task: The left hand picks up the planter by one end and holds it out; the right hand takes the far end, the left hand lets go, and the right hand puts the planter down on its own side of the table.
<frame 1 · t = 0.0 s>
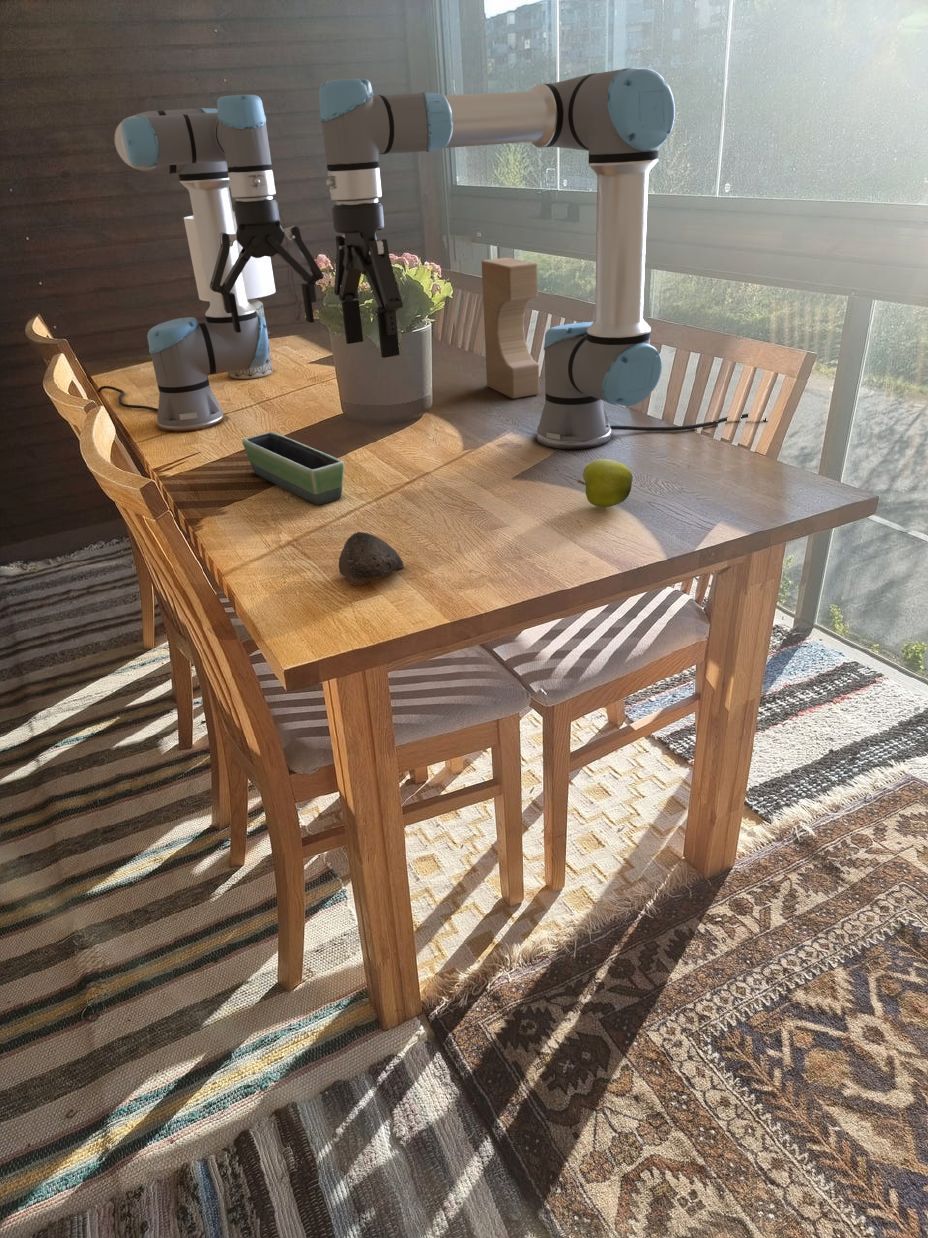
left hand: (274, 326, 162), 28 cm above the table, tool pointing down, fingers open, 13 cm apart
right hand: (372, 349, 140), 28 cm above the table, tool pointing down, fingers open, 13 cm apart
decorative block: (512, 390, 220), on the table
lamp: (251, 374, 252), on the table
planter: (296, 485, 169), on the table
apple: (604, 506, 151), on the table
stone: (371, 578, 132), on the table
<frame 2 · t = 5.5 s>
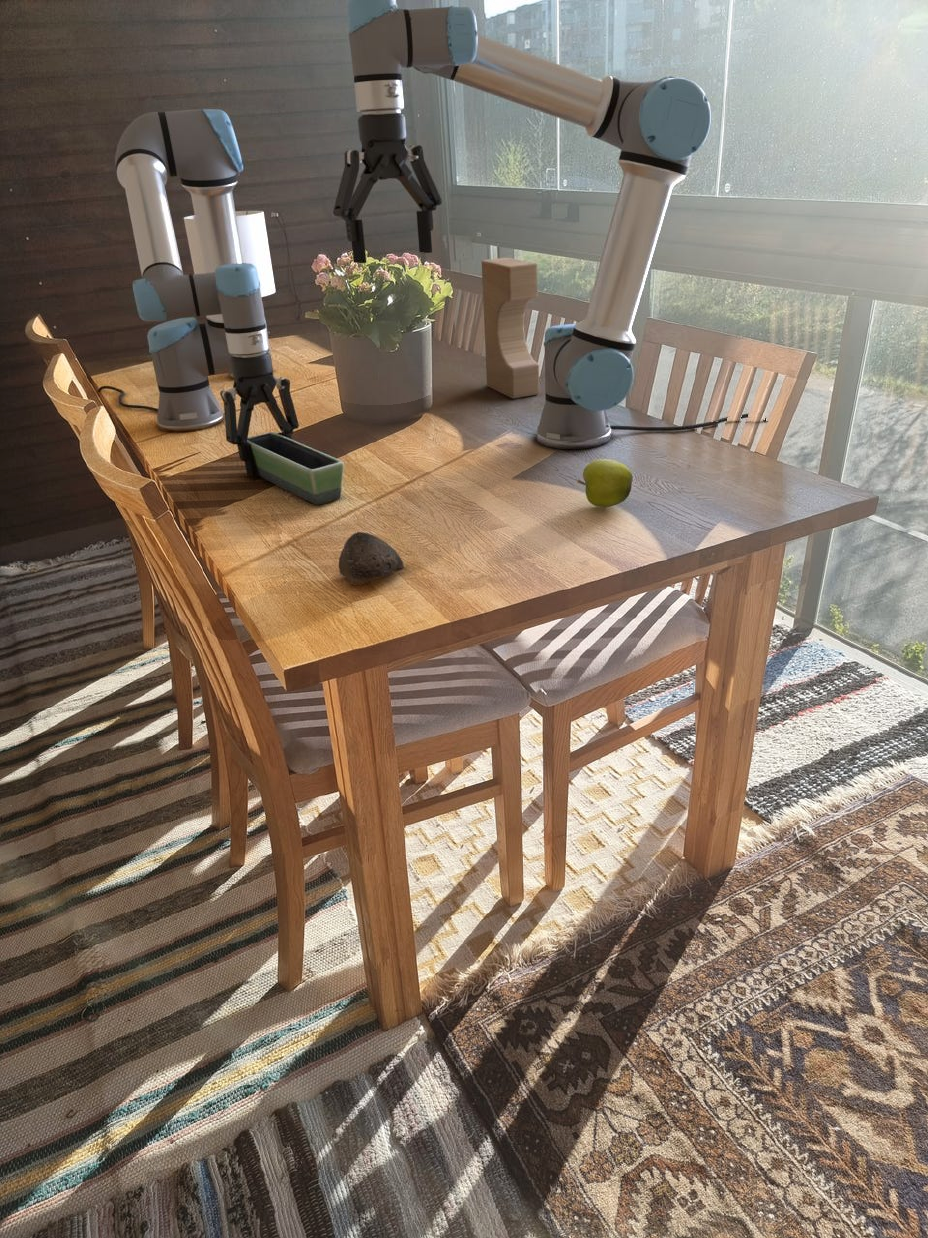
left hand: (269, 470, 176), 1 cm above the table, tool pointing down, fingers closed on planter, 7 cm apart
right hand: (393, 257, 150), 39 cm above the table, tool pointing down, fingers open, 13 cm apart
planter: (295, 486, 169), on the table, touching left hand
everything else where it was.
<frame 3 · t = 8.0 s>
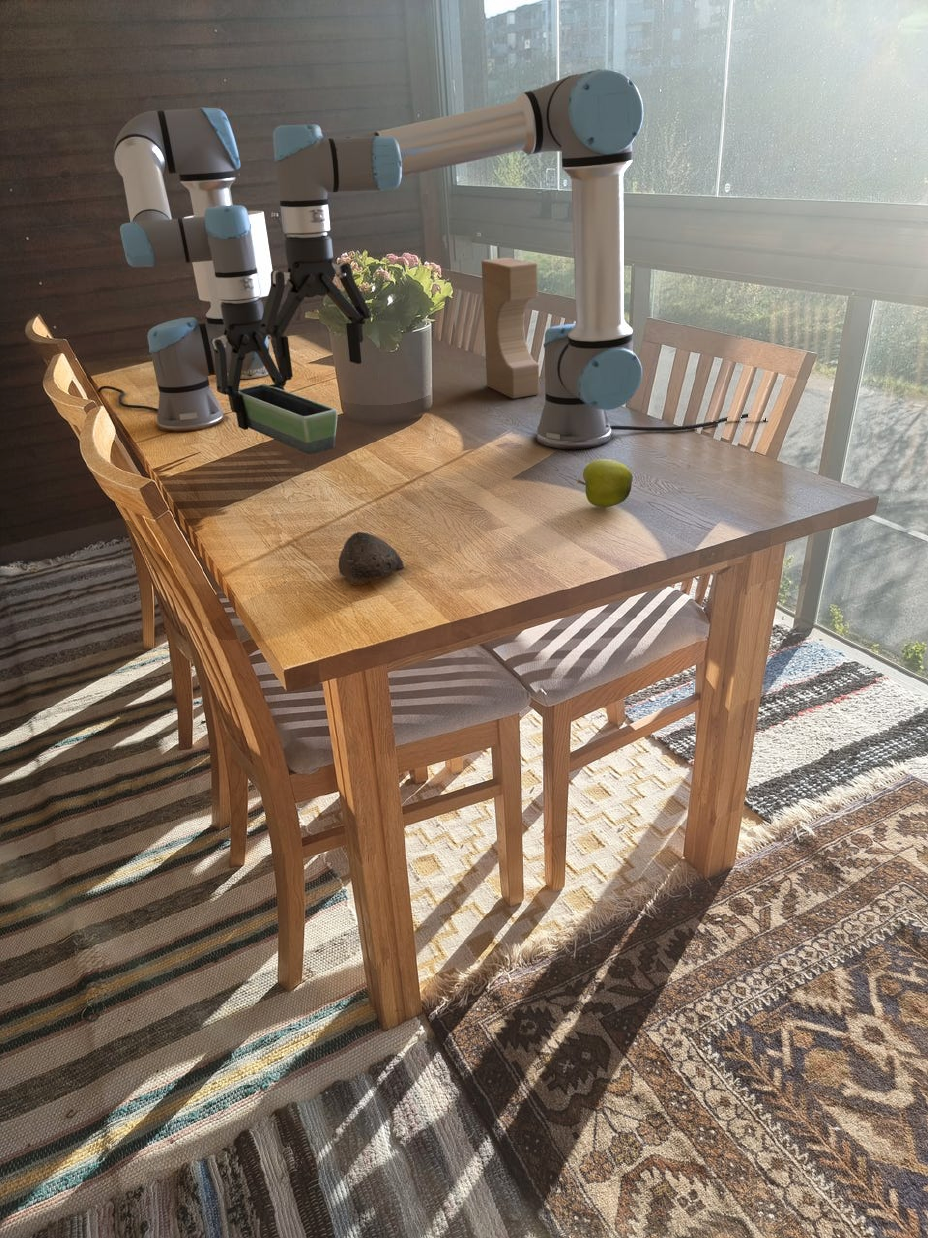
left hand: (261, 423, 171), 10 cm above the table, tool pointing down, fingers closed on planter, 7 cm apart
right hand: (322, 369, 152), 23 cm above the table, tool pointing down, fingers open, 13 cm apart
planter: (288, 437, 164), point 9 cm above the table, touching left hand
everything else where it was.
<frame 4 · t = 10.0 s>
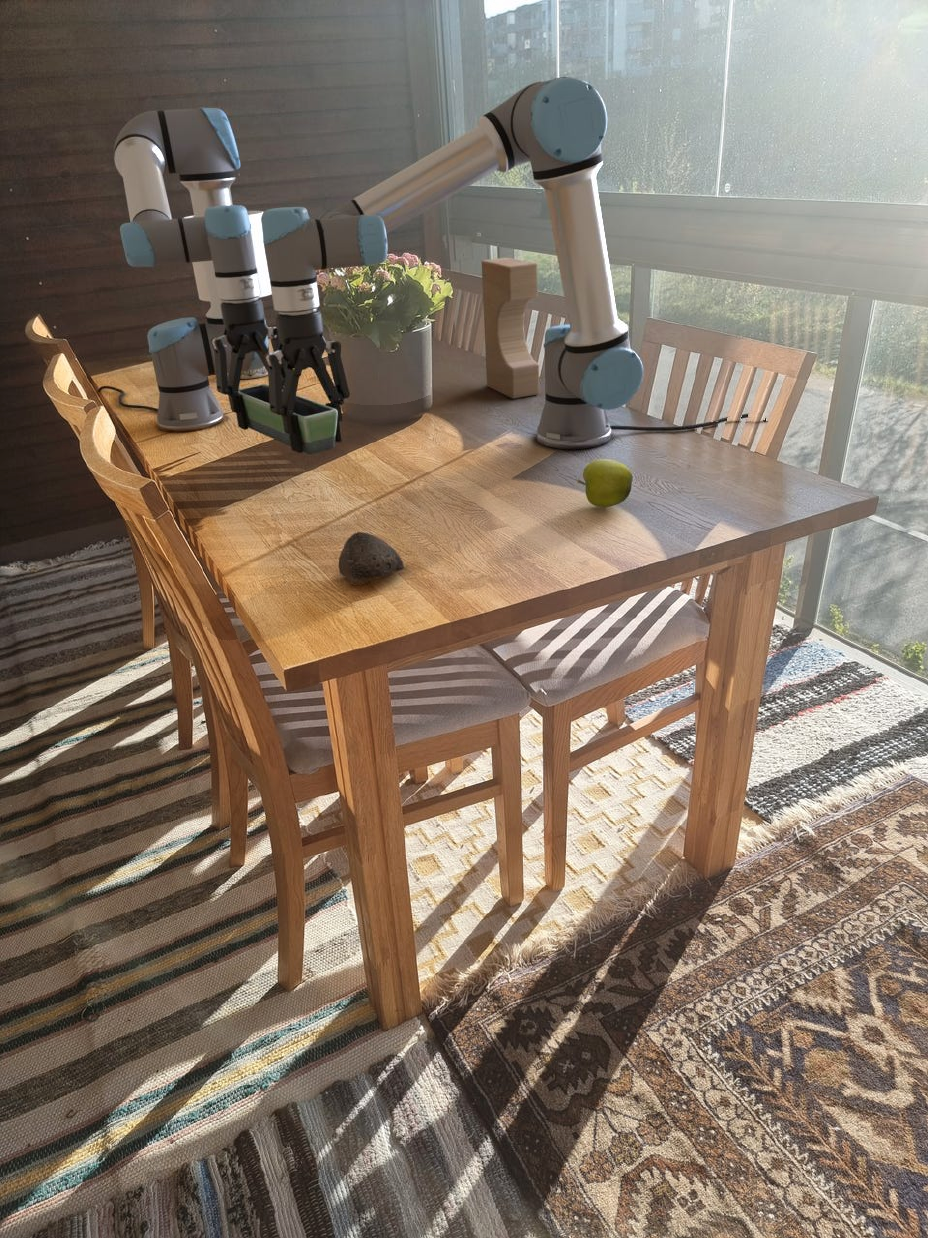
left hand: (261, 423, 171), 10 cm above the table, tool pointing down, fingers closed on planter, 7 cm apart
right hand: (316, 445, 156), 10 cm above the table, tool pointing down, fingers closed on planter, 7 cm apart
planter: (288, 437, 164), point 9 cm above the table, touching left hand, right hand
everything else where it was.
when the left hand's fingers open (10 cm above the table, at t = 10.9 s): planter stays where it is, held by the right hand.
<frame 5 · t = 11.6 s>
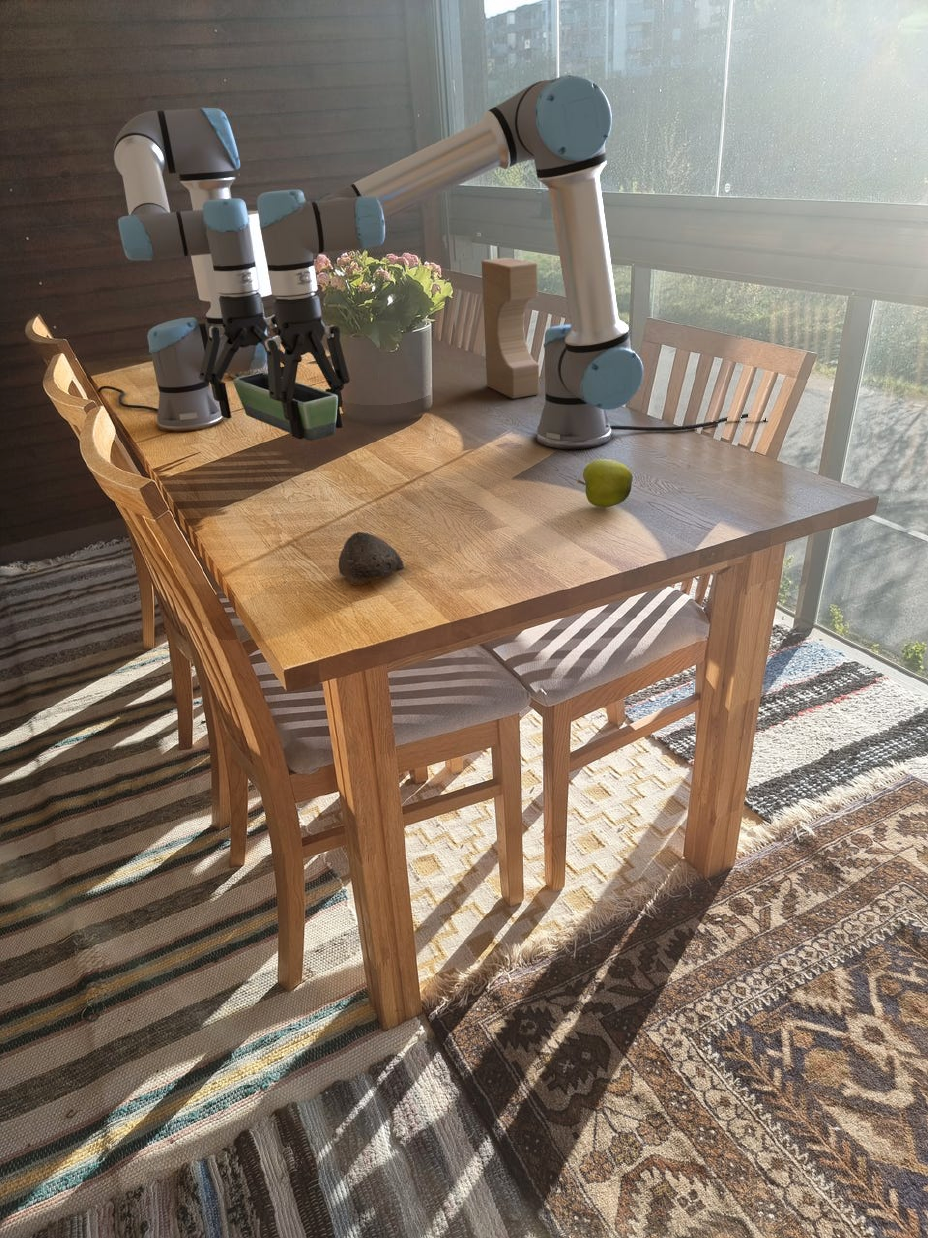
left hand: (259, 409, 170), 13 cm above the table, tool pointing down, fingers open, 13 cm apart
right hand: (317, 431, 155), 13 cm above the table, tool pointing down, fingers closed on planter, 7 cm apart
planter: (288, 425, 163), point 12 cm above the table, touching right hand
everything else where it was.
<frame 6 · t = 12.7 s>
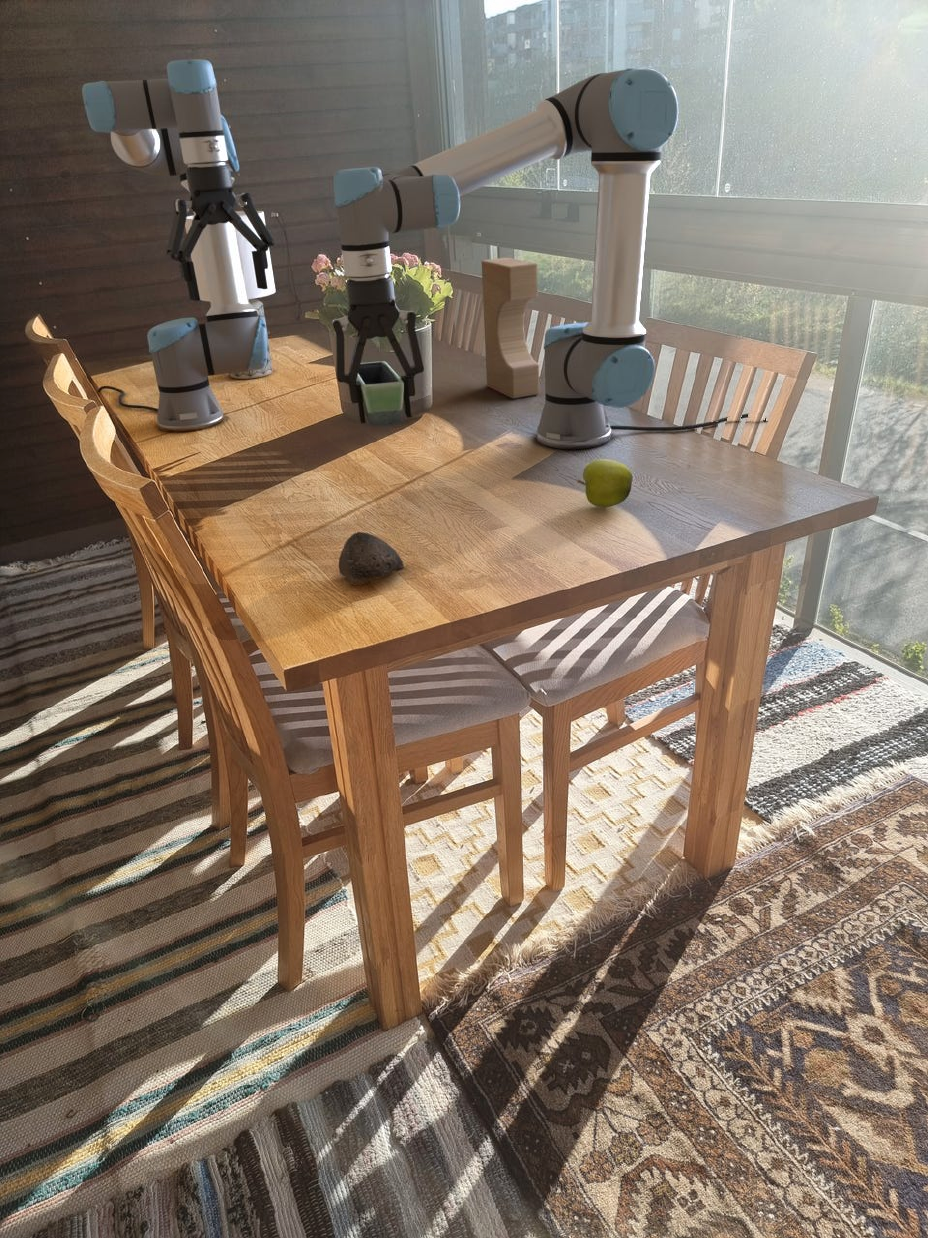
left hand: (229, 294, 163), 34 cm above the table, tool pointing down, fingers open, 13 cm apart
right hand: (385, 417, 151), 15 cm above the table, tool pointing down, fingers closed on planter, 7 cm apart
planter: (378, 412, 161), point 13 cm above the table, touching right hand
everything else where it was.
when the right hand's fingers open (2 cm above the table, at t = 15.5 s): planter stays where it is, on the table.
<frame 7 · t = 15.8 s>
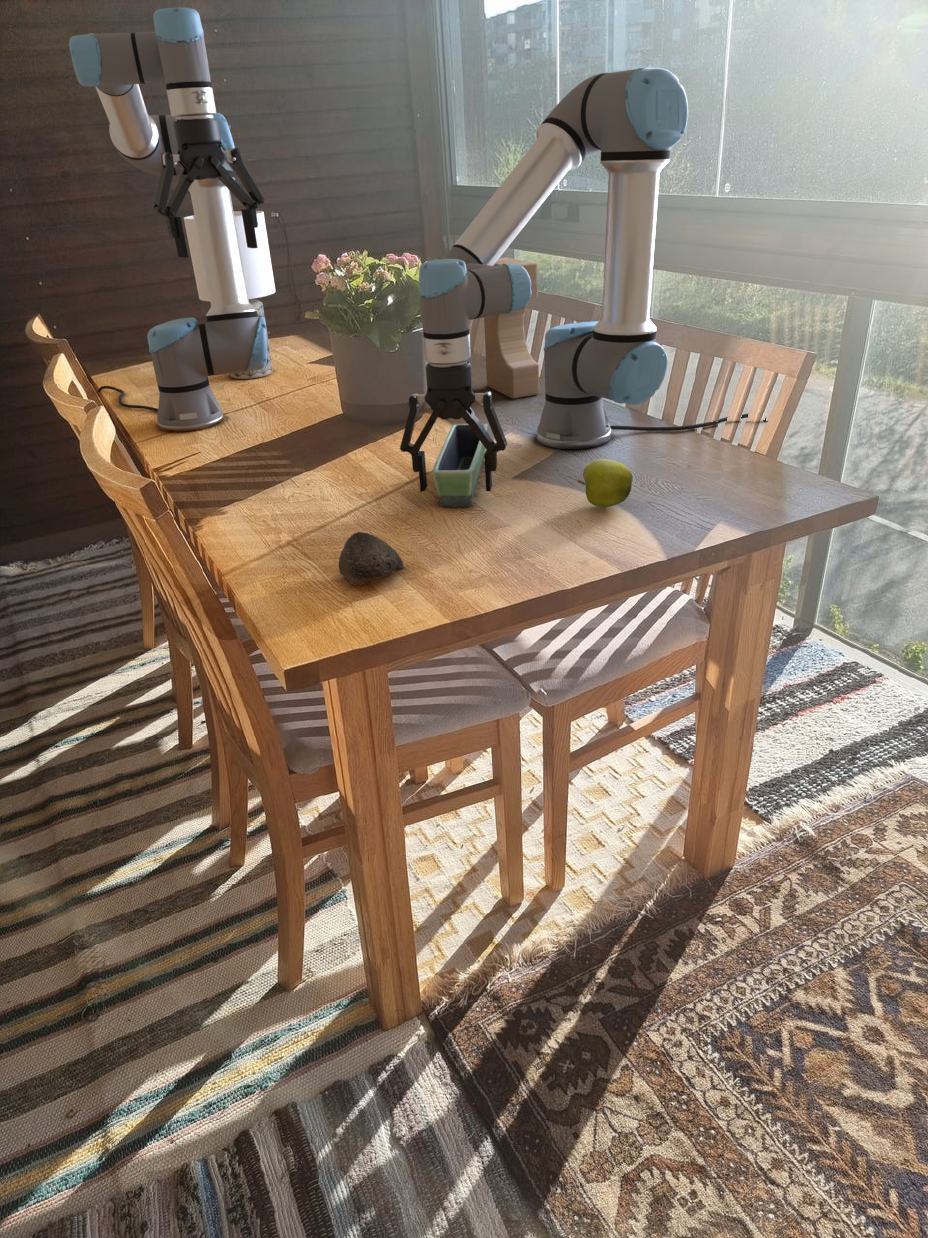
left hand: (218, 252, 160), 41 cm above the table, tool pointing down, fingers open, 13 cm apart
right hand: (456, 488, 155), 3 cm above the table, tool pointing down, fingers open, 11 cm apart
planter: (464, 482, 165), on the table
everything else where it was.
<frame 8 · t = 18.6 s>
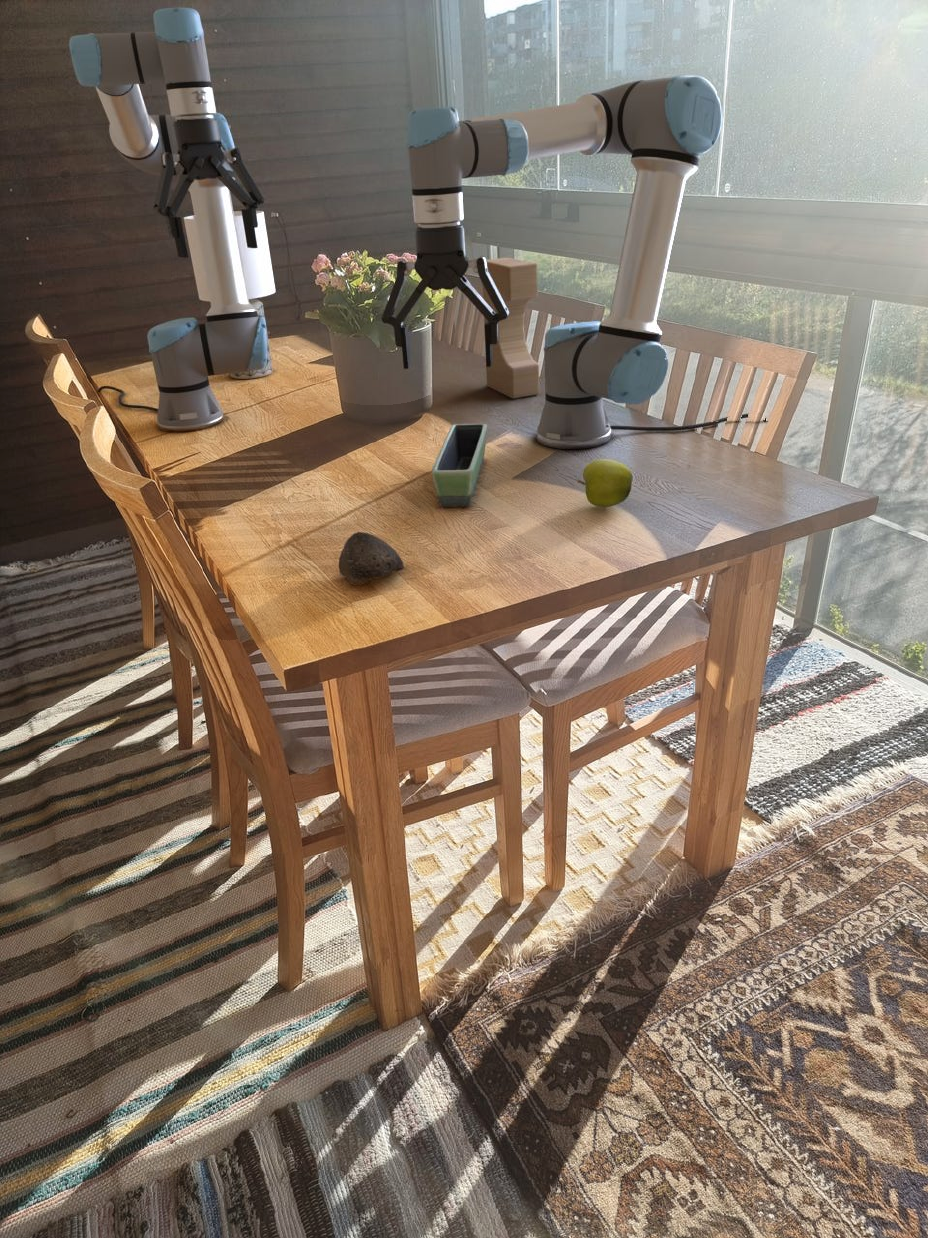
left hand: (218, 252, 160), 41 cm above the table, tool pointing down, fingers open, 13 cm apart
right hand: (448, 365, 144), 24 cm above the table, tool pointing down, fingers open, 13 cm apart
nothing on the table moved.
at the end: planter inside the target area (10.2 cm from its centre), on the table; the left hand is holding nothing; the right hand is holding nothing; planter at rest at the end (0.0 cm/s) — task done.
